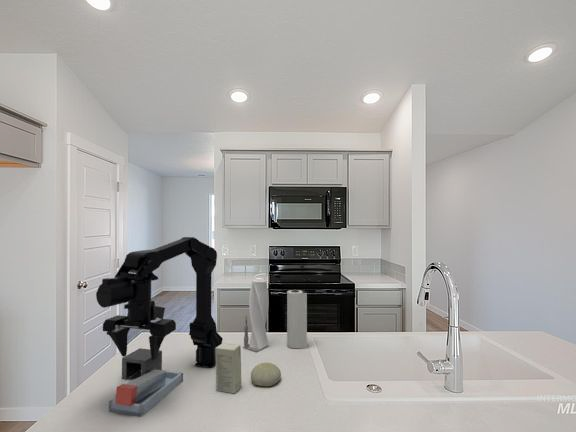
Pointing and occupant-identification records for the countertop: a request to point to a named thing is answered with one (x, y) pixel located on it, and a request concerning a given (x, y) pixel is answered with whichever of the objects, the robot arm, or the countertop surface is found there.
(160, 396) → the tray
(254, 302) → the skyscraper
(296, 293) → the paper towel roll
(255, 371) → the sea urchin shell
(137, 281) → the robot arm
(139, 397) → the pin
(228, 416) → the countertop surface
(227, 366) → the skincare box
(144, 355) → the block
